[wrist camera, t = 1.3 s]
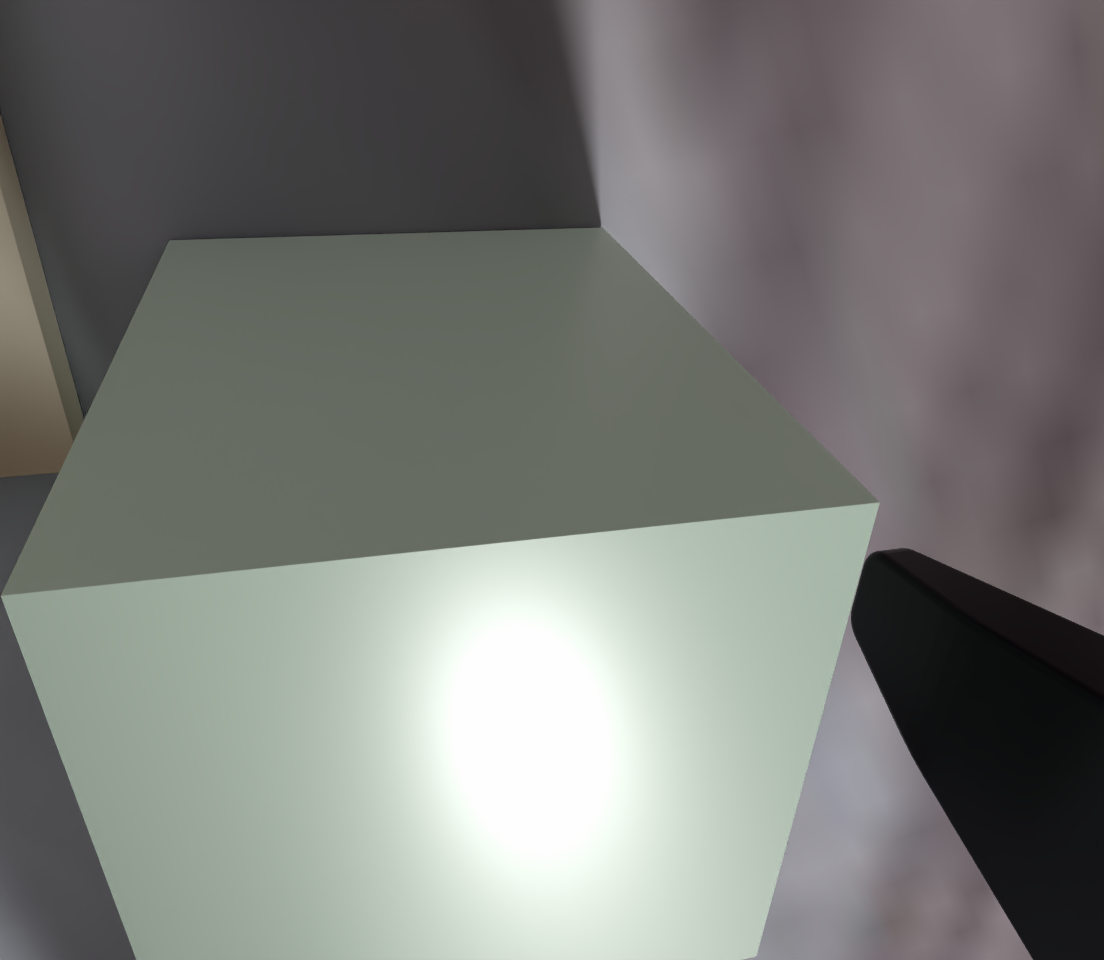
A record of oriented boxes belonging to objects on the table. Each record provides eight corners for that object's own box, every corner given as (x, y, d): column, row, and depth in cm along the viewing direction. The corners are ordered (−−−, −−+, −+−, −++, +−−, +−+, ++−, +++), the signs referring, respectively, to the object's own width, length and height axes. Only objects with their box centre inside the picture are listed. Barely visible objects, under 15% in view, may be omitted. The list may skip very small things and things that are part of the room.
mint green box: (580, 556, 14) (756, 957, 8) (237, 594, 13) (183, 1084, 7) (602, 227, 11) (878, 502, 6) (169, 240, 10) (-2, 595, 5)
